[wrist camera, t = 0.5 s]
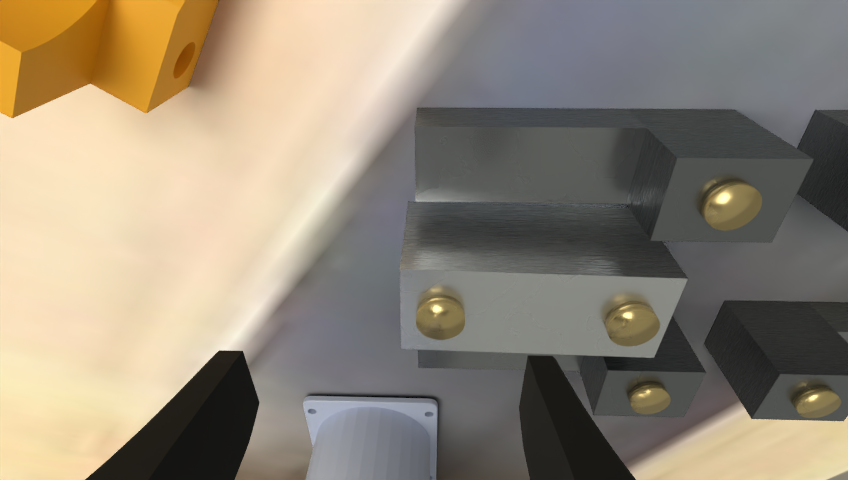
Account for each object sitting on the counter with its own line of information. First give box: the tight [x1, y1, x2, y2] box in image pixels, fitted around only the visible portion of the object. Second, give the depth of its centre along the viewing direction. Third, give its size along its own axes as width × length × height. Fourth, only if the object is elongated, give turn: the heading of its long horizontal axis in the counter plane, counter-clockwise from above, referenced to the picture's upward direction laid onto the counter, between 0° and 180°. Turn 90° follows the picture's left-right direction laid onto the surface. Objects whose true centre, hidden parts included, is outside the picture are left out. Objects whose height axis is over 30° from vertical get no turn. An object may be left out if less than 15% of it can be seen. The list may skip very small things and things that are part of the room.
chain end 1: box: [415, 108, 814, 417], centre depth 19 cm, size 12×12×5 cm
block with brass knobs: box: [400, 201, 688, 358], centre depth 19 cm, size 4×10×6 cm, turn 89°
